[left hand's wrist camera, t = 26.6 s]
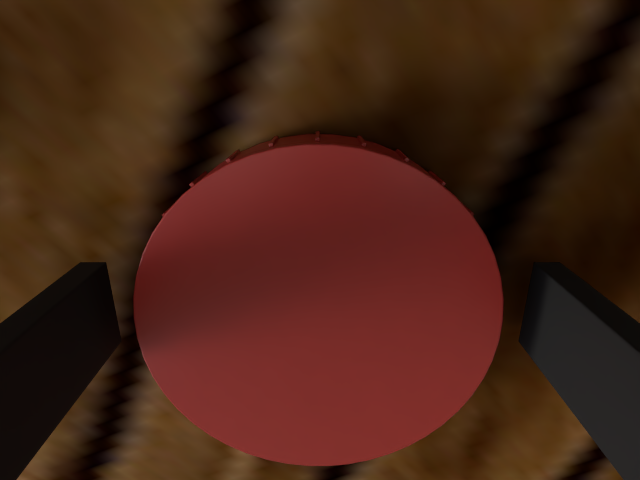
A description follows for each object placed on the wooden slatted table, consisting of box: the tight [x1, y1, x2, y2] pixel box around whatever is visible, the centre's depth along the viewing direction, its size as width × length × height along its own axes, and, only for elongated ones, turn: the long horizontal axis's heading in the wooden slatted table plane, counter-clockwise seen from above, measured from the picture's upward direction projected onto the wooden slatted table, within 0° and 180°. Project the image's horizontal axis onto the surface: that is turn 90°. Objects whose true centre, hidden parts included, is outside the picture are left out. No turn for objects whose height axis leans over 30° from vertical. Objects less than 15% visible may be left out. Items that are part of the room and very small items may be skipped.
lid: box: [133, 131, 504, 466], centre depth 13 cm, size 10×10×2 cm
